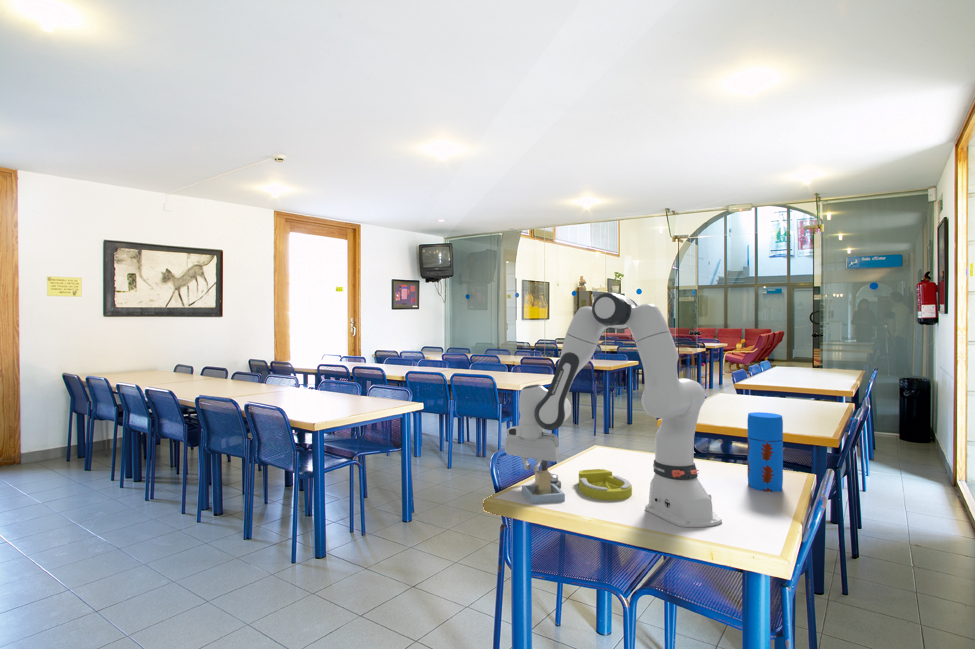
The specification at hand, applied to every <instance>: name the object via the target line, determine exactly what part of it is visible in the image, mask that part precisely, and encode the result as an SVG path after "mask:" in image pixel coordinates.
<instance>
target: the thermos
mask: <svg viewBox="0 0 975 649" xmlns="http://www.w3.org/2000/svg"><path fill="white" fill-rule="evenodd" d="M747 413H748V415H747V486H748V487H749V488H751V489H753V490H757V491H760V492H761V491H762V492H768V491H770V492H771V493H773V492H774V493H775V492H776V493H777V491H778V492H782V490H783V485H784V484H783V482H784V471H783V470H784V420H783V415H782V414H779V413H773V412H760V411H759V412H755V411H754V412H753V411H752V412H747Z"/></svg>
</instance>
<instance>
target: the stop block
mask: <svg viewBox="0 0 975 649" xmlns="http://www.w3.org/2000/svg"><path fill="white" fill-rule="evenodd" d="M548 471H549V470H548ZM548 471H547V470H545V471H540V470H539V471H534V485H535V493H534V495H542V494H552V492H551V474H552V473H551V472H550V471H549V472H550V473H551V474H550V473H549V472H548Z"/></svg>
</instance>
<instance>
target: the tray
mask: <svg viewBox="0 0 975 649" xmlns="http://www.w3.org/2000/svg"><path fill="white" fill-rule="evenodd" d="M521 493H522V495H523V496H524V497H525V498H526V499H527V501H529V503H531V504H543V503H559V502H565V501H566V494H565V492H563V491H562V490H561V489H559V488H558V487H557V486H556V485H555V484H551V494H542V495H535V484H529V485H528V484H524V485H521ZM533 493H534V494H533Z"/></svg>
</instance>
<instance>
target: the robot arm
mask: <svg viewBox="0 0 975 649" xmlns="http://www.w3.org/2000/svg"><path fill="white" fill-rule="evenodd" d="M607 329H610V330H627V329H629V330H630V333H631V335H632V336H633V339H634V342H635V346H636V349H637V352H638V355H639V358H640V361H641V363H642V364H641V365H642V369H643V378H644V388H643V392H642V395H641V399H640V401H641V406H642V409H643V410H644V412H645V413H646V414H647V415H648V416H650V417H652V418H656V419H661V420H660V421H661V422H660V425H659V427H658V429H657V431H656V432H655V436H654V452H655V453H654V454H655V456H654V457H655V458H654V460H653V466H652V467H653V473H654V476H653V478H652V479H651V481H650V483H649V495H648V504H646V505H644V507H645V509H644V510H645V511H647V512H648V513H651V514H653V515H655V516H657V517H659V518H661V519H663V520H665V521H668V522H669V523H671V524H674V525H675V526H677V527H682V528H705V527H706V528H707V527H713V526H718V525H720V524H722V523H723V521H722V520H723V519H722V518H721V517H720V516H718V514H716V513H715V512H714V511H713V503H712V502H713V500H712V494H711V493H709V492H707V491H706V489H705V488H704V487H703V484H701V482H700V481H699V479H698V474H699V469H697V466H696V463H695V462H694V460H695V459H694V458H695V457H694V456H695V455H694V454H695V450H694V448H695V447H694V446H695V443H694V442H695V433H696V429H697V424H698V420H699V415H700V412H701V408H702V406H703V405H704V404H705V400H706V392H705V389H704V387H703V386H702V384H701V383H699V382H698V381H695V380H693V379H690V378H683V377H681V378H679V374H678V361H679V359H680V358H679V352H678V350H677V346H676V343H675V341H674V338H673V335H672V333H671V331H670V328H669V326H668V323H667V321H666V319H665V316H664V315H663V313H662V311H661V310H660V308H659V307H658V306H657V305H655V304H653V303H644V304H639V305H638V304H637V303H636V301H634V300H633V299H631V298H629V297H627V296H625V295H623V294H620V293H616V292H610V291H608V292H604V293H601V294H599V295H597V296H596V298H595V299H594V300H593V302H592V305H591V306H590V305H589V306H581V307H579V308H578V310H577V311H576V312H575V314H574V316H573V318H572V319H571V321H570V323H569V326H568V328H567V331H566V333H565V335H564V336H565V337H564V339H563V343H562V346H561V352H560V355H559V359H558V363H557V367H556V370H555V373H554V375H553V378H552V380H551V383H550V385H549V387H548V389H547V388H545V387H544V386H543V385H542V384H539V383H538V384H537V383H536V384H530V385H526V386H524V387H523V388H521V389H520V393H519V399H518V400H519V401H518V412H519V420H518V425H517V424H516V425H515V426H511V427H509V428H507V429H506V436H505V441H504V451H505V454H506V455H510V456H514V457H515V456H516V457H521V461H522V464H523V465H524V470H526V471H530V470H531V468H532V472H535V471H540V466H541V462H542V460H546V461H548V462H552V463H554V462H557V461H558V460H559V459H560V446H559V444H560V442H559V441H560V439H559V437H558V436H557V435H556V434H555V433H548V432H545V430H546V431H555V430H557V429H559V428H561V426H562V425H563V424H564V422H565V421H566V420H568V419H569V417H570V416H571V414H572V412H573V411H572V410H573V406H572V402H571V401H570V400H569V398H568V397H567V396H568V395H569V392H570V389H571V386H572V384H573V382H574V379H575V378H576V376H577V374H578V373H579V372H580V371H581V370H582V369H583V368H584V367H585V366H586V365H587V364H589V362H590V360H591V359H592V357H593V355H594V353H595V352H596V349H597V346H598V344H599V340H600V338H601V336H602V334H603V333H604V331H605V330H607ZM528 459H535V462H536V463H535V465H533V466H532V467H531V464H530V463H529V462H528Z"/></svg>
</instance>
